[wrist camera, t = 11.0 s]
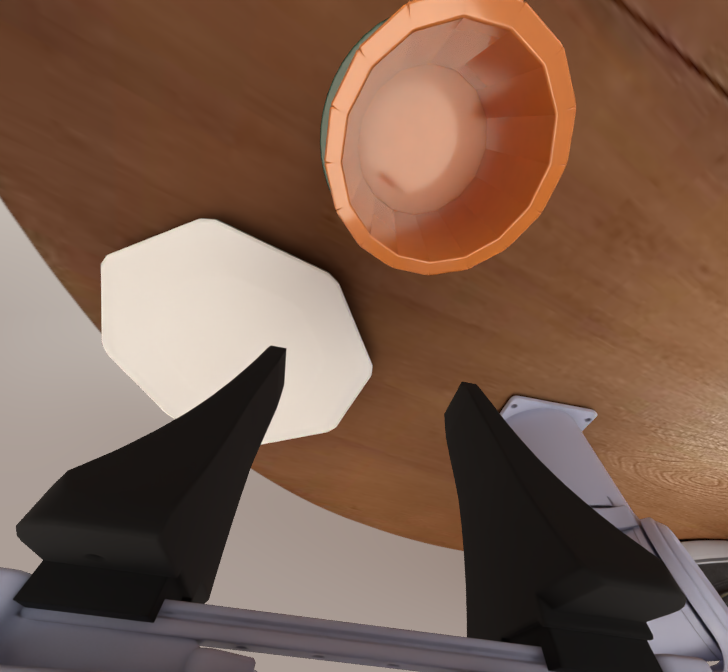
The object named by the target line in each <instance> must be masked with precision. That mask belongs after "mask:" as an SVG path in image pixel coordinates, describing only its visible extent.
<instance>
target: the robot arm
mask: <svg viewBox="0 0 728 672" xmlns="http://www.w3.org/2000/svg"><path fill="white" fill-rule="evenodd" d="M286 349H287V348H282V347H277V346H269V347H268V348H267V349H266V350H265V351H264V352H263V353H262V354H261V355H260V356H259V357H258V358H257V359H256V360H254V361H253V362H252V363H251V364H250V365H249V366H248V367H247V368H246V369H244V370H243V371H242V372H241V373H240V374H239V375H237V376H236V377H235V378H234V379H233V380H231V381H230V382H229V383H228V384H226V385H225V386H224V387H222V388H221V389H220V390H219V391H217V392H216V393H215V394H213V395H212V396H211V397H209V398H208V399H206V400H205V401H203V402H202V403H201V404H199V405H197V406H196V407H194V408H193V409H191V410H190V411H188V412H187V413H185V414H183V415H182V416H180V417H178V418H177V419H175V420H173V421H172V422H170V423H168V424H166V425H165V426H163V427H161V428H159V429H158V430H156V431H154V432H152V433H150V434H148V435H146V436H144V437H142V438H140V439H138V440H136V441H134V442H132V443H130V444H128V445H126V446H124V447H122V448H120V449H118V450H115V451H113V452H111V453H109V454H106V455H104V456H102V457H99V458H97V459H94V460H92V461H90V462H87V463H85V464H83V465H81V466H78V467H76V468H73V469H71V470H68V471H67V472H66V473H65V474H64V475H63V476H62V477H61V478H60V479H59V480H58V481H57V482H56V483H55V484H54V485H53V486H52V487H51V488H50V489H49V490H48V491H47V492H46V493H45V494H44V496H43V497H42V498H41V499H40V500H39V501H38V502H37V503H36V504H35V505H34V507H33V508H32V509H31V510H30V511H29V512H28V513H27V514H26V515H25V516H24V518H23V519H22V520H21V521H20V522H19V523H18V524H17V525H16V532H17V536H18V537H19V538H20V540H21V541H22V542H23V543H24V544H25V545H27V546H28V547H29V548H30V549H31V550H32V551H34V552H35V553H36V554H37V555H38V556H39V557H41V558H42V559H43V561H42V563H41V564H40V565H39V566H38V568H37V569H36V570H35V571H34V573H33V574H30V573H27V572H24V571H21V570H15V569H9V568H1V567H0V672H257V671H256V670H254V667H255V660H254V658H251V657H247V656H243V655H239V654H234V653H230V652H226V651H222V650H217V649H212V648H200V646H206V647H216V648H223V649H232V650H240V651H249V652H258V653H267V654H274V655H283V656H292V657H300V658H309V659H317V660H325V661H334V662H342V663H351V664H360V665H368V666H377V667H385V668H393V669H402V670H410V671H419V672H728V607H727V606H726V604H725V603H724V601H723V600H722V598H721V597H720V596H719V594H718V593H717V591H716V590H715V589H714V587H713V586H712V584H711V583H710V582H709V580H708V579H707V577H706V576H705V575H704V573H703V572H702V570H701V569H700V568H699V566H698V565H697V564H696V562H695V561H694V560H693V558H692V557H691V556H690V554H689V553H688V552H687V550H686V549H685V548H684V546H683V545H682V544H681V542H680V541H679V540H678V539H677V537H676V536H675V535H674V533H673V532H672V531H671V530H670V529H669V528H668V527H667V526H666V525H664V524H662V523H659V522H656V521H655V520H653V519H652V518H649V517H648V518H644V519H639V518H638V517H637V516H636V515H635V514H634V513H633V511H632V510H631V508H630V507H629V505H628V504H627V502H626V500H625V499H624V497H623V496H622V494H621V493H620V491H619V489H618V488H617V486H616V485H615V483H614V482H613V480H612V479H611V477H610V475H609V474H608V472H607V471H606V469H605V468H604V466H603V464H602V463H601V461H600V460H599V458H598V457H597V455H596V454H595V452H594V450H593V449H592V447H591V446H590V444H589V443H588V441H587V439H586V438H585V436H584V435H583V433H582V431H583V430H584V429H585V428H586V427H587V426H588V425H589V424H590V423H591V422H592V421H593V420H594V419H595V418H596V416H597V413H596V412H595V410H592V409H587V408H581V407H576V406H571V405H565V404H560V403H555V402H549V401H544V400H539V399H534V398H528V397H523V396H513V397H511V398H510V399H509V401H508V402H507V404H506V405H505V406H504V408H503V409H502V411H501V412H500V413H499V412H498V411H497V410H496V408H495V407H494V406H493V404H492V403H491V402H490V401H489V399H488V398H487V397H486V396H485V394H484V393H483V392H482V391H481V389H480V388H479V387H478V386H477V385H476V384H472V383H467V382H462V383H461V384H460V386H459V388H458V390H457V392H456V394H455V395H454V397H453V399H452V401H451V403H450V405H449V406H448V408H447V410H446V412H445V414H444V416H445V431H446V440H447V445H448V450H449V455H450V460H451V464H452V469H453V474H454V478H455V483H456V488H457V493H458V499H459V506H460V515H461V524H462V535H463V547H464V561H465V578H466V605H467V637H459V636H451V635H443V634H435V633H427V632H419V631H412V630H404V629H396V628H388V627H381V626H373V625H365V624H357V623H349V622H341V621H333V620H325V619H318V618H310V617H302V616H294V615H286V614H278V613H270V612H262V611H255V610H247V609H239V608H231V607H223V606H215V605H207V604H205V602H207V601H208V600H209V597H210V594H211V590H212V587H213V583H214V580H215V577H216V574H217V570H218V567H219V564H220V560H221V557H222V553H223V550H224V547H225V544H226V541H227V537H228V535H229V531H230V528H231V525H232V522H233V519H234V516H235V513H236V509H237V506H238V503H239V500H240V497H241V494H242V491H243V489H244V485H245V483H246V480H247V477H248V474H249V471H250V468H251V466H252V463H253V461H254V458H255V456H256V454H257V452H258V449H259V447H260V445H261V443H262V440H263V438H264V436H265V434H266V432H267V429H268V427H269V425H270V423H271V420H272V418H273V416H274V414H275V411H276V409H277V407H278V403H279V400H280V397H281V394H282V391H283V387H284V381H285V365H286ZM513 404H514V405H513ZM706 661H720V662H719V663H717V664H716V665H713V666H709V665H708V663H707V662H706Z"/></svg>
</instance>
